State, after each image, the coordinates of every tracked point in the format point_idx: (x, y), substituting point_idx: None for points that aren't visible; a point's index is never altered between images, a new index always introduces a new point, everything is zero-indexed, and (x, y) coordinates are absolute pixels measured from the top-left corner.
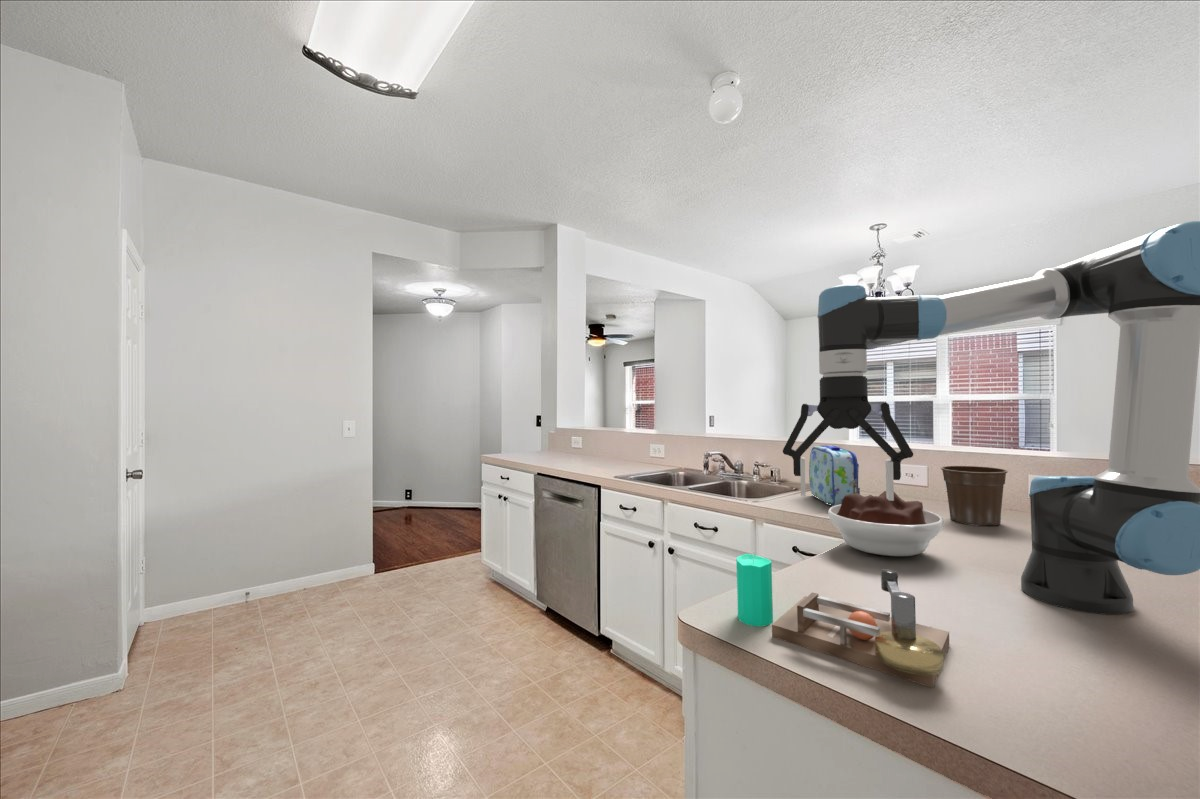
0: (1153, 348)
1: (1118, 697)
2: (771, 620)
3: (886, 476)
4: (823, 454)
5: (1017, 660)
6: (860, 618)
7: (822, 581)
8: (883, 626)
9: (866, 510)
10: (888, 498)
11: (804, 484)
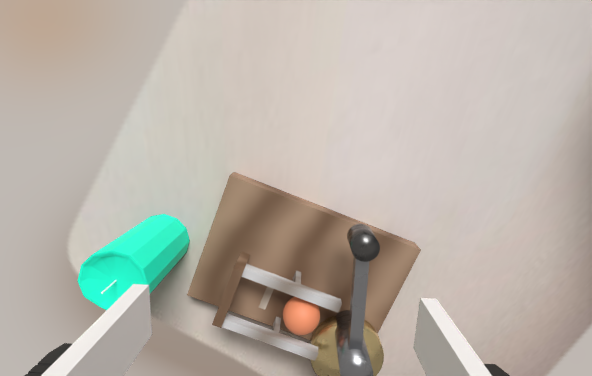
0: None
1: (542, 314)
2: (186, 247)
3: (453, 371)
4: None
5: (481, 261)
6: (297, 333)
7: (265, 28)
8: (335, 258)
9: None
10: (415, 349)
11: (128, 365)
